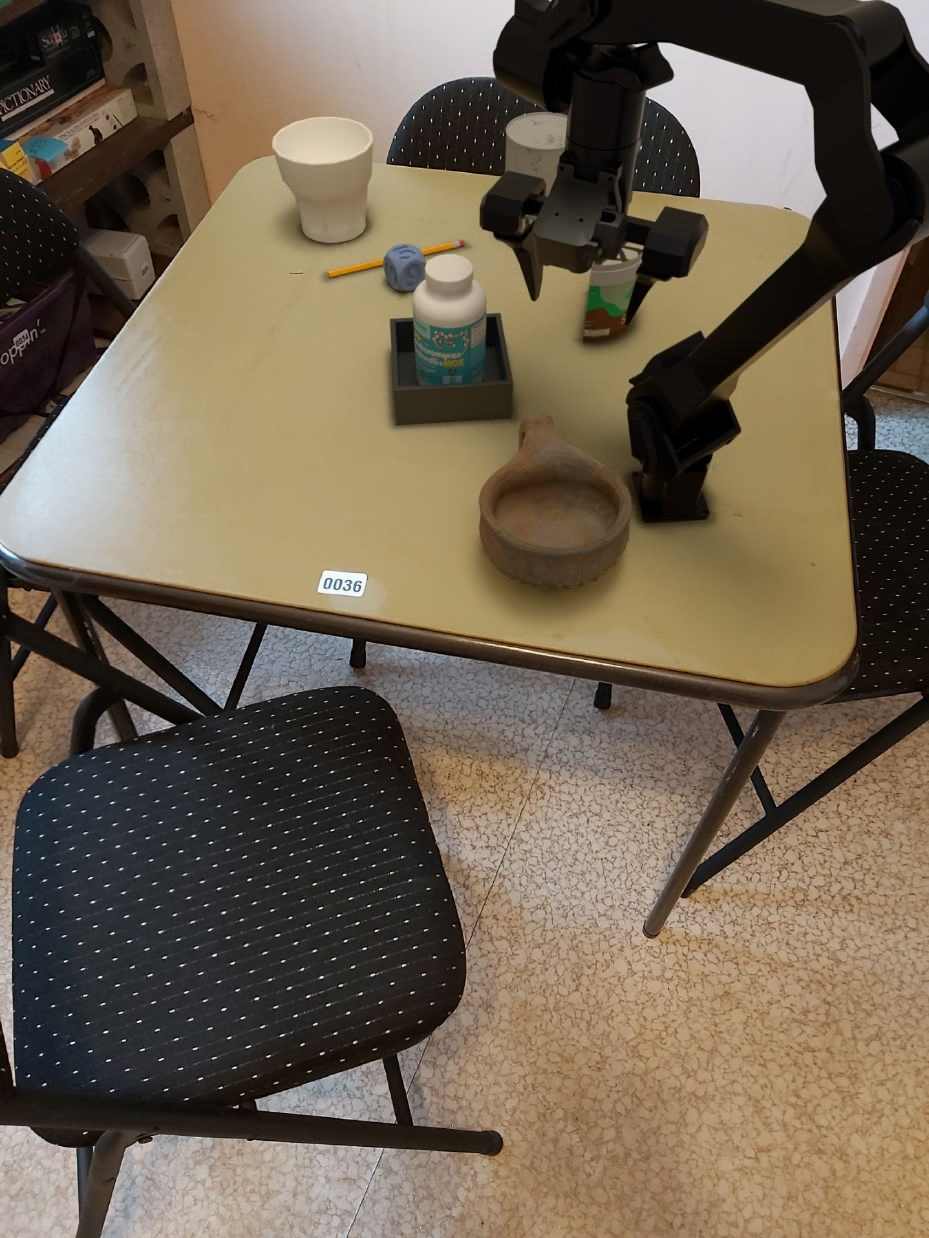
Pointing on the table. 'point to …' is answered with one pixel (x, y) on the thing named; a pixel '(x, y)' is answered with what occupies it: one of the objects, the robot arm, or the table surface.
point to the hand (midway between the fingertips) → (581, 311)
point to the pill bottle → (449, 323)
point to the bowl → (553, 512)
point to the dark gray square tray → (455, 397)
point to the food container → (611, 293)
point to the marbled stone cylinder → (536, 145)
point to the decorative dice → (404, 267)
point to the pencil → (380, 262)
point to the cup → (327, 174)
